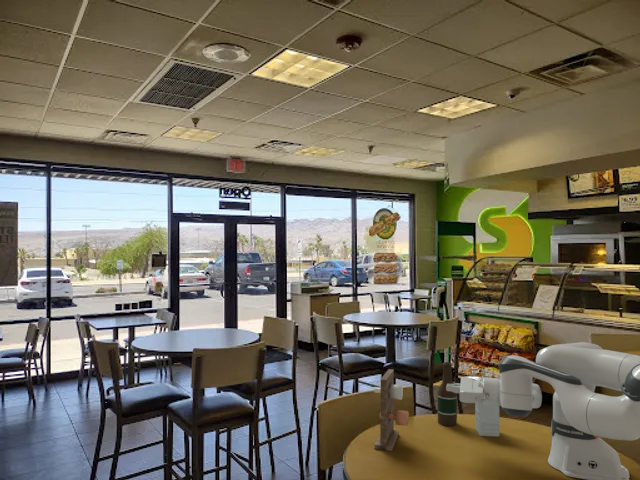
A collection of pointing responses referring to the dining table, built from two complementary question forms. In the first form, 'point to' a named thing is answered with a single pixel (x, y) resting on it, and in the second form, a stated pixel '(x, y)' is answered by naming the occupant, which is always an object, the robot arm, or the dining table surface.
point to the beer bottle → (447, 399)
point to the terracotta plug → (400, 417)
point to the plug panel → (386, 415)
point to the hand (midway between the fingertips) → (446, 387)
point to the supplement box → (487, 419)
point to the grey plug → (393, 391)
